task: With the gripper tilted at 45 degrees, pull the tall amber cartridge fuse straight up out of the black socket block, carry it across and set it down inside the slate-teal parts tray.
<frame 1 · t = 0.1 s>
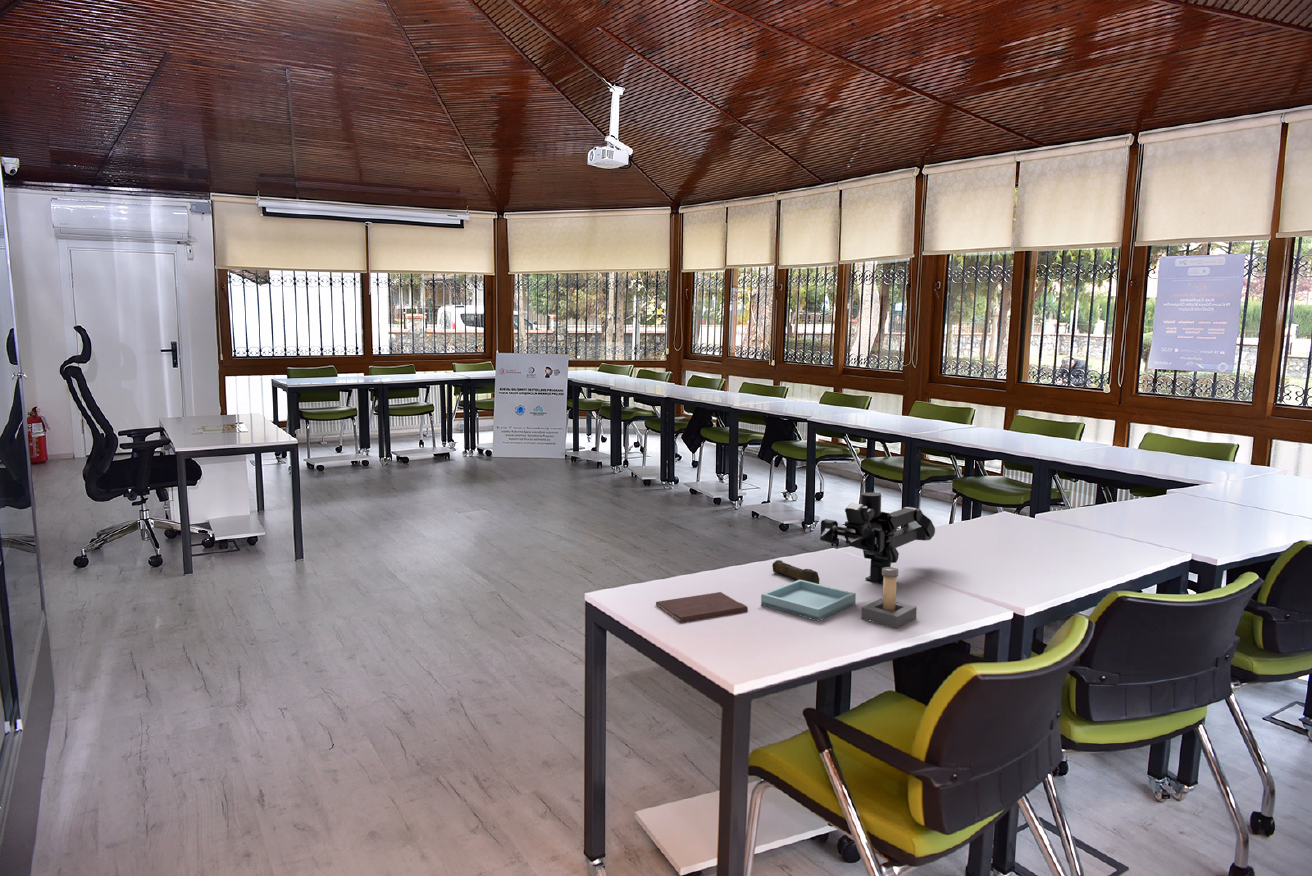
hand: (835, 541, 224), 17 cm above the table, tool horizontal, fingers open, 9 cm apart
fuse: (889, 594, 211), in the socket block
socket block: (888, 618, 212), on the table
parts tray: (808, 604, 223), on the table
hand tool: (798, 580, 246), on the table
notebook: (701, 611, 221), on the table
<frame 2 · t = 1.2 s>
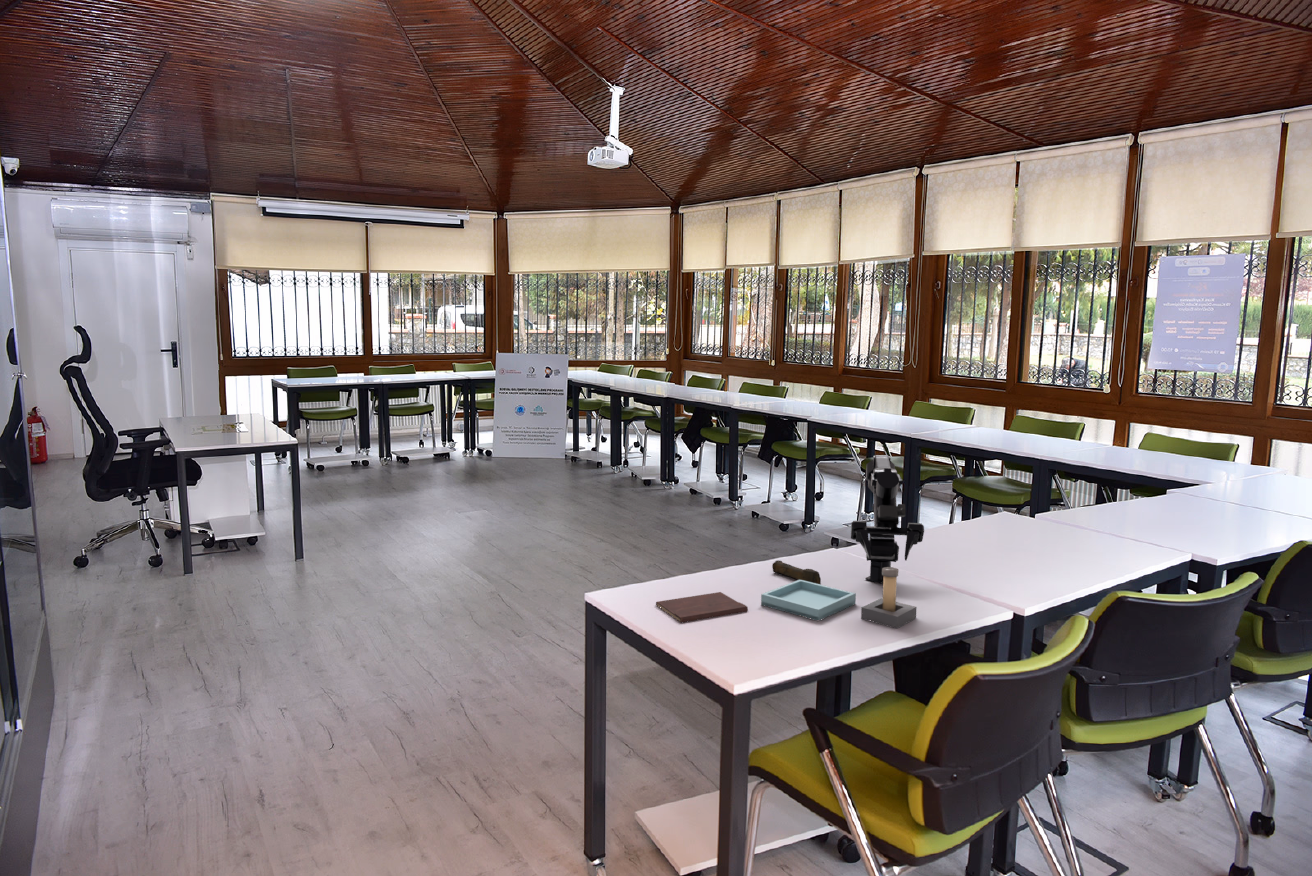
hand: (887, 559, 218), 13 cm above the table, tool tilted 45°, fingers open, 9 cm apart
nothing on the table moved.
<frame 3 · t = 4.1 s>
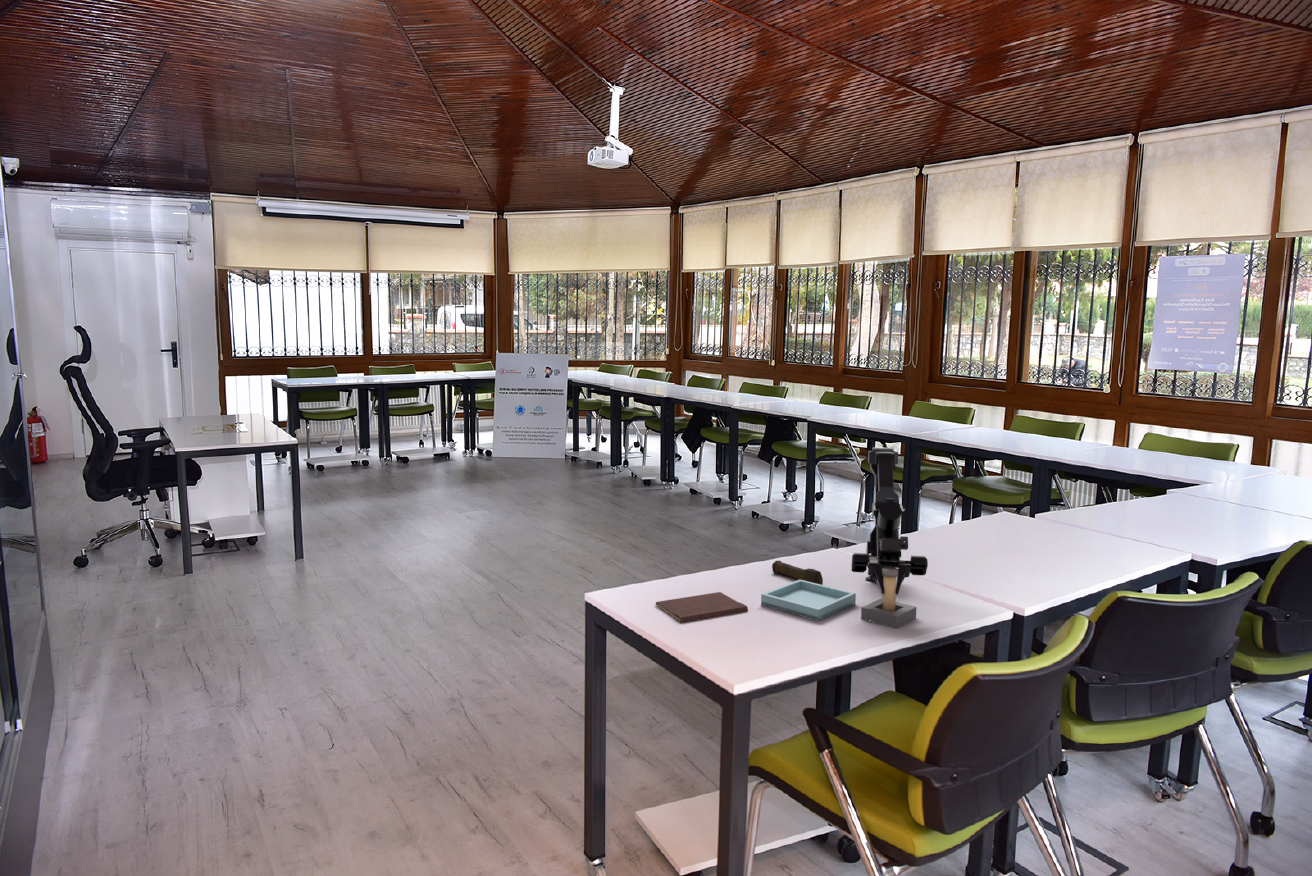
hand: (889, 593, 210), 7 cm above the table, tool tilted 45°, fingers closed on fuse, 3 cm apart
fuse: (889, 593, 211), in the socket block, touching gripper
everything else where it was.
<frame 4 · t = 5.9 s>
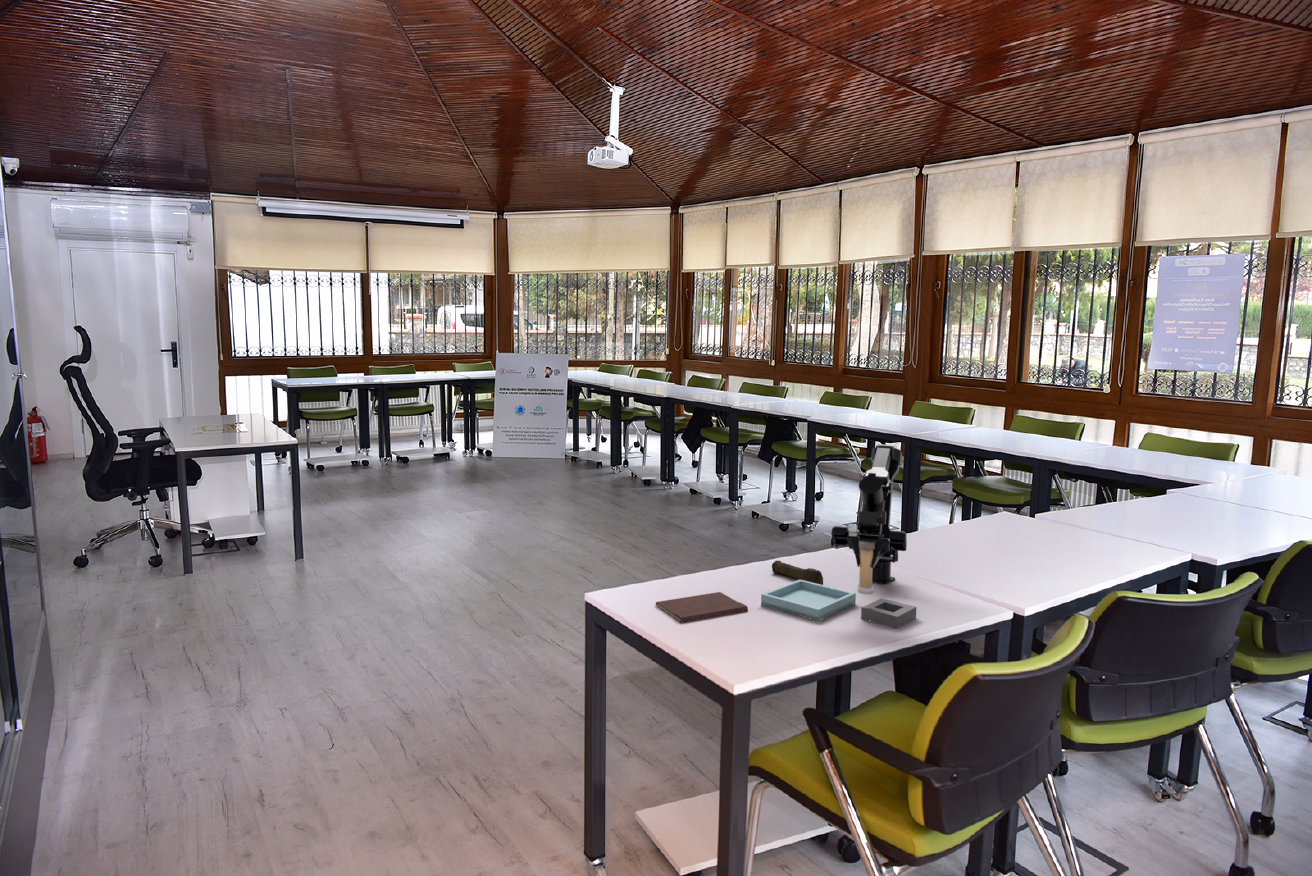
hand: (865, 566, 211), 14 cm above the table, tool tilted 45°, fingers closed on fuse, 3 cm apart
fuse: (866, 567, 212), point 13 cm above the table, touching gripper
everything else where it was.
when the fingers open (10 cm above the table, at t = 7.8 s): fuse drops 1 cm, resting on parts tray.
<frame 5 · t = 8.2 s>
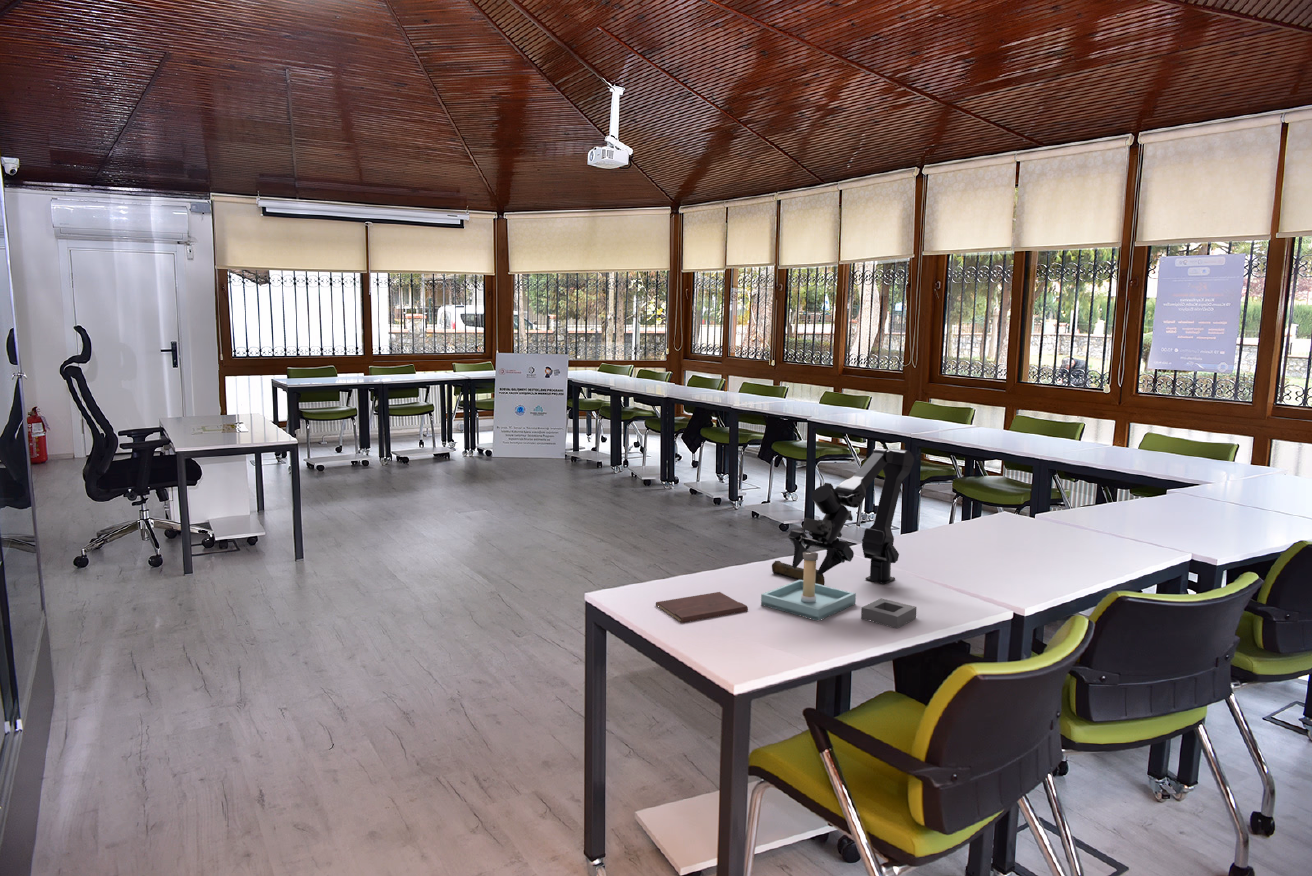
hand: (805, 571, 221), 10 cm above the table, tool tilted 45°, fingers open, 8 cm apart
fuse: (809, 577, 222), in the parts tray, point 8 cm above the table
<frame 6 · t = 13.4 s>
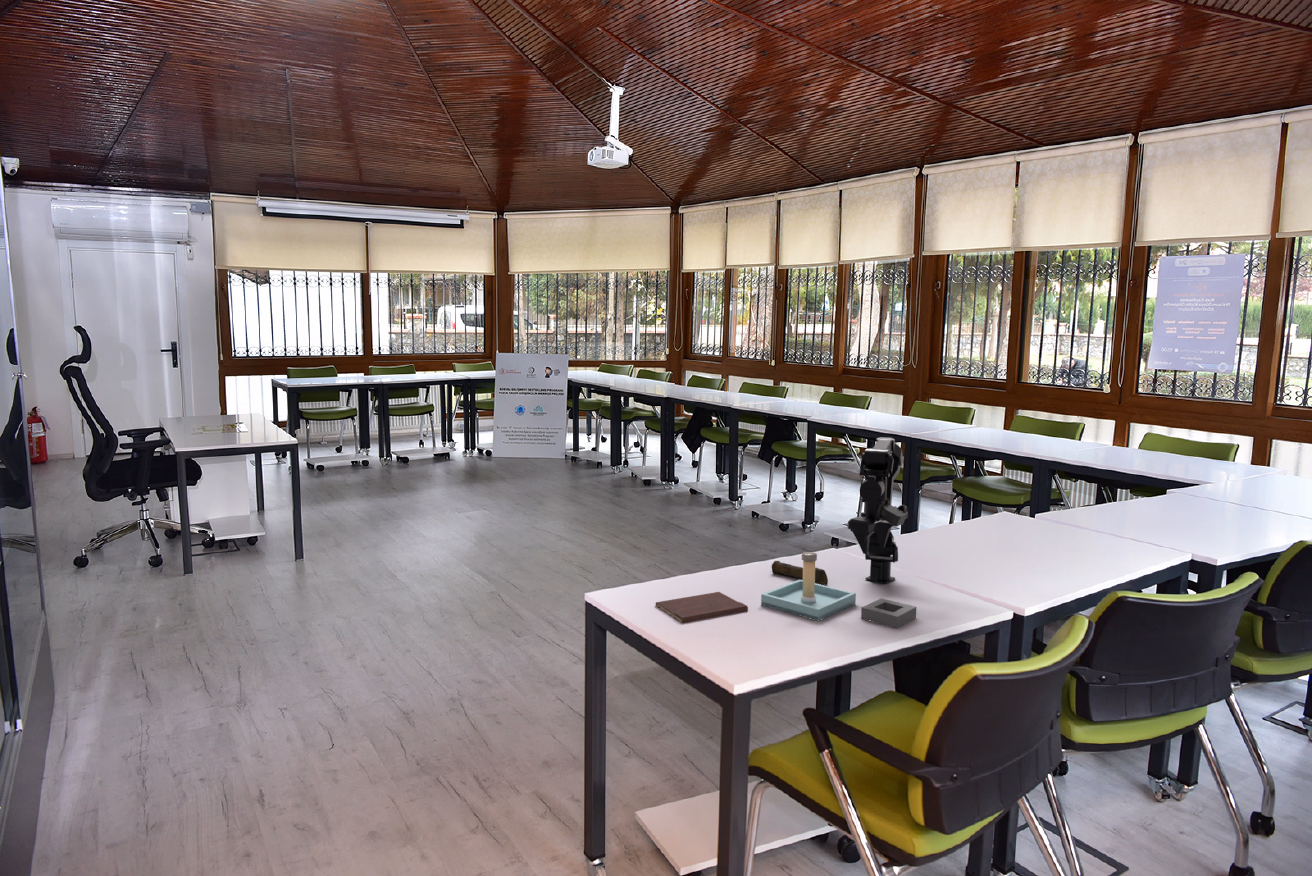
hand: (873, 550, 228), 13 cm above the table, tool pointing down, fingers open, 9 cm apart
at the end: fuse inside the target area on the parts tray (0.0 cm from its centre), point 7.5 cm above the parts tray's base; the gripper is holding nothing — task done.
